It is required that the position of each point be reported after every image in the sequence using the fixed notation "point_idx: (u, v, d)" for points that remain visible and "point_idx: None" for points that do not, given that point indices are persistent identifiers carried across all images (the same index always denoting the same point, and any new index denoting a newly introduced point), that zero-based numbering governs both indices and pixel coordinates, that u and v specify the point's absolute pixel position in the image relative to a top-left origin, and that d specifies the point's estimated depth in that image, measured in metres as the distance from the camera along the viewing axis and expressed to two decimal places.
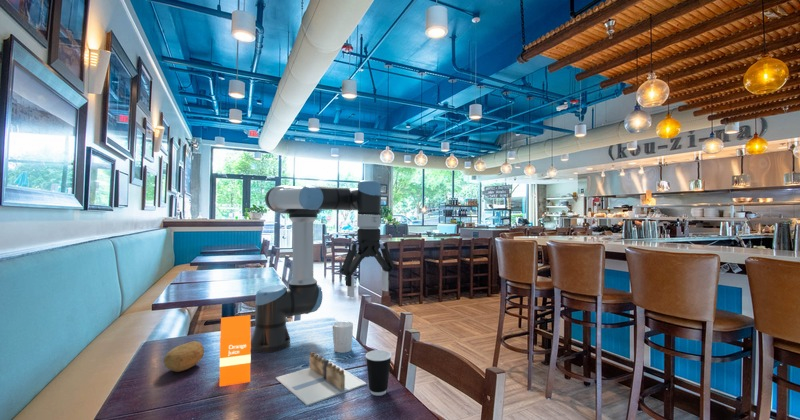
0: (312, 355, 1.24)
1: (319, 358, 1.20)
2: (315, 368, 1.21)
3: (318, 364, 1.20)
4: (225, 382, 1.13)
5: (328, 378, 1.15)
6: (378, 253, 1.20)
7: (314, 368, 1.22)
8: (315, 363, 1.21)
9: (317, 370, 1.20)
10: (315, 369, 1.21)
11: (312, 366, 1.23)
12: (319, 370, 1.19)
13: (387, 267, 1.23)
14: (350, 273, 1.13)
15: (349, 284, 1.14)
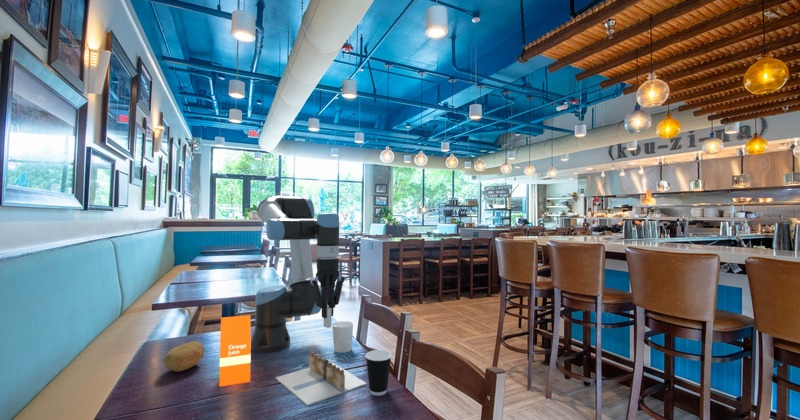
0: (312, 355, 1.24)
1: (319, 358, 1.20)
2: (315, 368, 1.21)
3: (318, 364, 1.20)
4: (225, 382, 1.13)
5: (328, 378, 1.15)
6: (333, 283, 1.26)
7: (314, 368, 1.22)
8: (315, 363, 1.21)
9: (317, 370, 1.20)
10: (315, 369, 1.21)
11: (312, 366, 1.23)
12: (319, 370, 1.19)
13: (332, 302, 1.26)
14: (325, 306, 1.24)
15: (325, 316, 1.24)
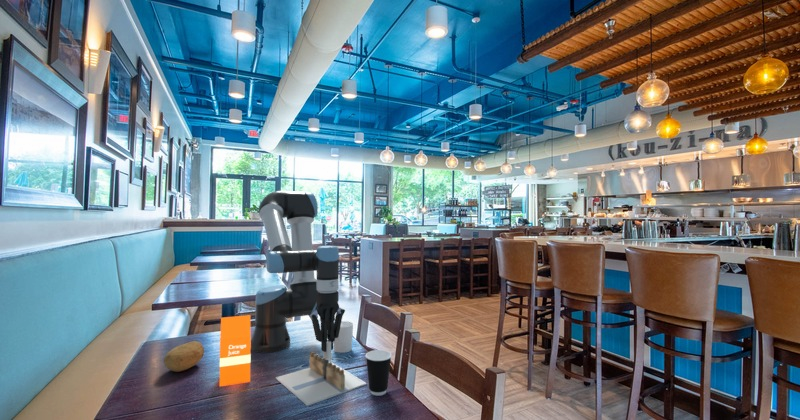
0: (312, 355, 1.24)
1: (319, 358, 1.20)
2: (315, 368, 1.21)
3: (318, 364, 1.20)
4: (225, 382, 1.13)
5: (328, 378, 1.15)
6: (332, 317, 1.25)
7: (314, 368, 1.22)
8: (315, 363, 1.21)
9: (317, 370, 1.20)
10: (315, 369, 1.21)
11: (312, 366, 1.23)
12: (319, 370, 1.19)
13: (332, 336, 1.26)
14: (325, 340, 1.24)
15: (324, 350, 1.24)
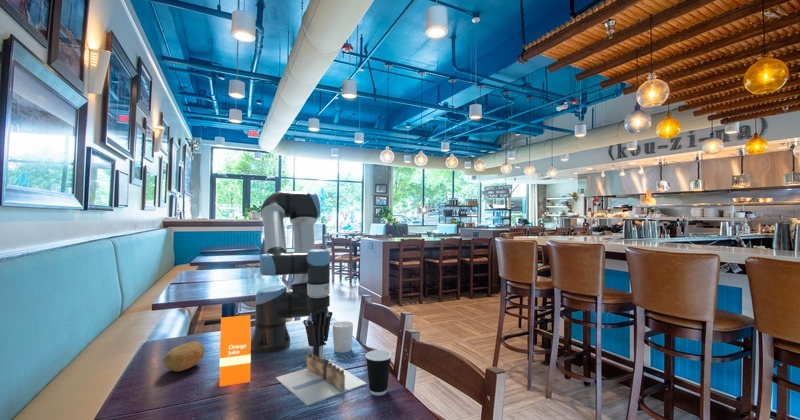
0: (310, 356, 1.23)
1: (318, 358, 1.20)
2: (313, 368, 1.21)
3: (317, 365, 1.19)
4: (225, 382, 1.13)
5: (328, 378, 1.15)
6: (324, 320, 1.25)
7: (312, 369, 1.21)
8: (314, 364, 1.21)
9: (316, 371, 1.20)
10: (313, 370, 1.21)
11: (310, 366, 1.22)
12: (319, 371, 1.19)
13: (323, 340, 1.25)
14: (318, 345, 1.23)
15: (317, 354, 1.23)
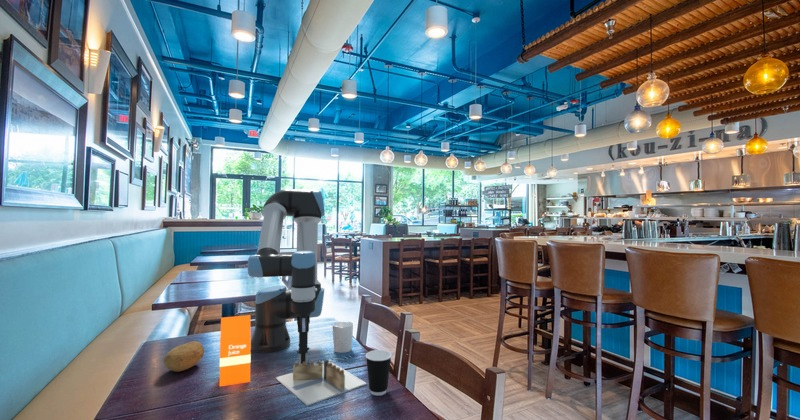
0: (297, 365, 1.16)
1: (313, 362, 1.16)
2: (306, 375, 1.16)
3: (313, 369, 1.16)
4: (225, 382, 1.13)
5: (328, 378, 1.15)
6: None
7: (304, 376, 1.16)
8: (307, 370, 1.16)
9: (311, 376, 1.16)
10: (306, 376, 1.16)
11: (300, 375, 1.16)
12: (316, 374, 1.16)
13: None
14: None
15: None
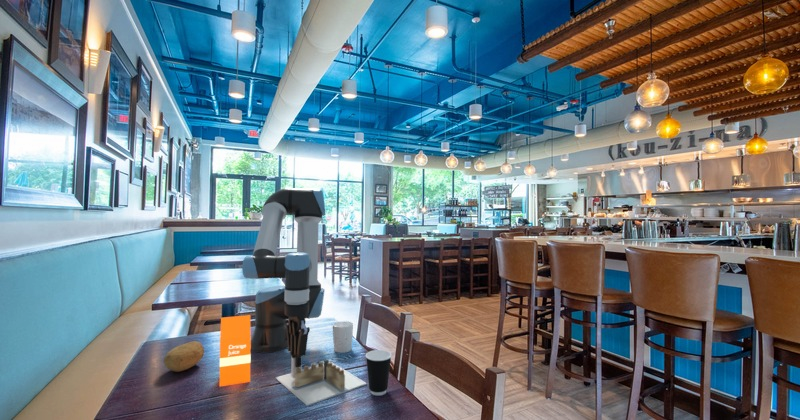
0: None
1: None
2: (309, 379, 1.13)
3: (315, 371, 1.14)
4: (225, 382, 1.13)
5: (328, 378, 1.15)
6: None
7: (307, 381, 1.12)
8: (309, 374, 1.13)
9: (313, 379, 1.14)
10: (309, 380, 1.13)
11: (303, 381, 1.12)
12: (318, 376, 1.15)
13: None
14: None
15: None
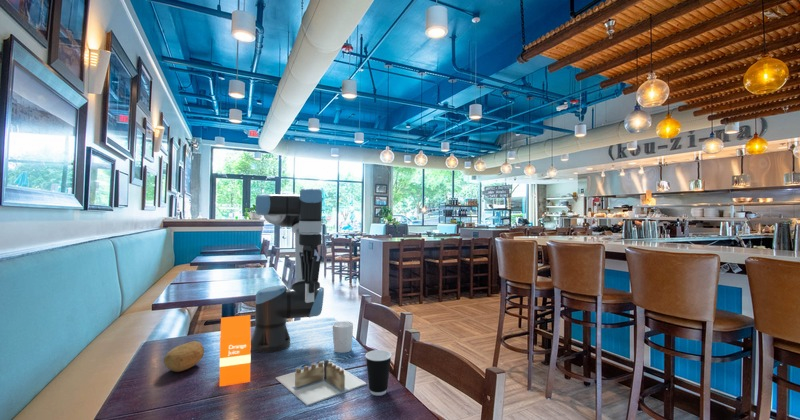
0: None
1: None
2: (309, 379, 1.13)
3: (315, 371, 1.14)
4: (225, 382, 1.13)
5: (328, 378, 1.15)
6: None
7: (307, 381, 1.12)
8: (309, 374, 1.13)
9: (313, 379, 1.14)
10: (309, 381, 1.13)
11: (303, 381, 1.12)
12: (318, 376, 1.15)
13: None
14: None
15: None
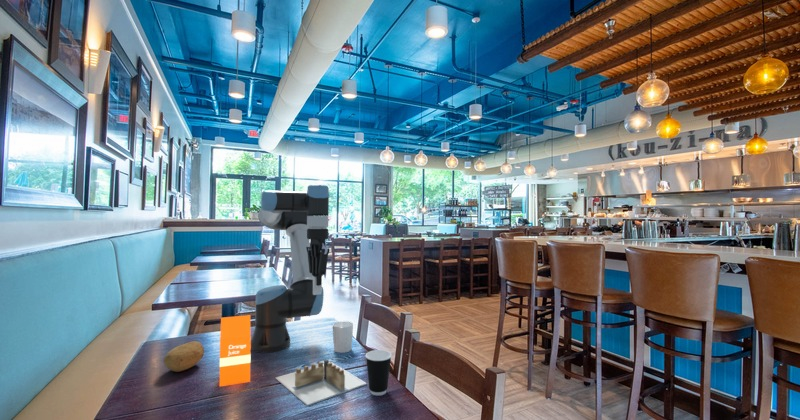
0: None
1: None
2: (309, 379, 1.13)
3: (315, 371, 1.14)
4: (225, 382, 1.13)
5: (328, 378, 1.15)
6: None
7: (307, 381, 1.12)
8: (309, 374, 1.13)
9: (313, 379, 1.14)
10: (309, 381, 1.13)
11: (303, 381, 1.12)
12: (318, 376, 1.15)
13: None
14: None
15: None
